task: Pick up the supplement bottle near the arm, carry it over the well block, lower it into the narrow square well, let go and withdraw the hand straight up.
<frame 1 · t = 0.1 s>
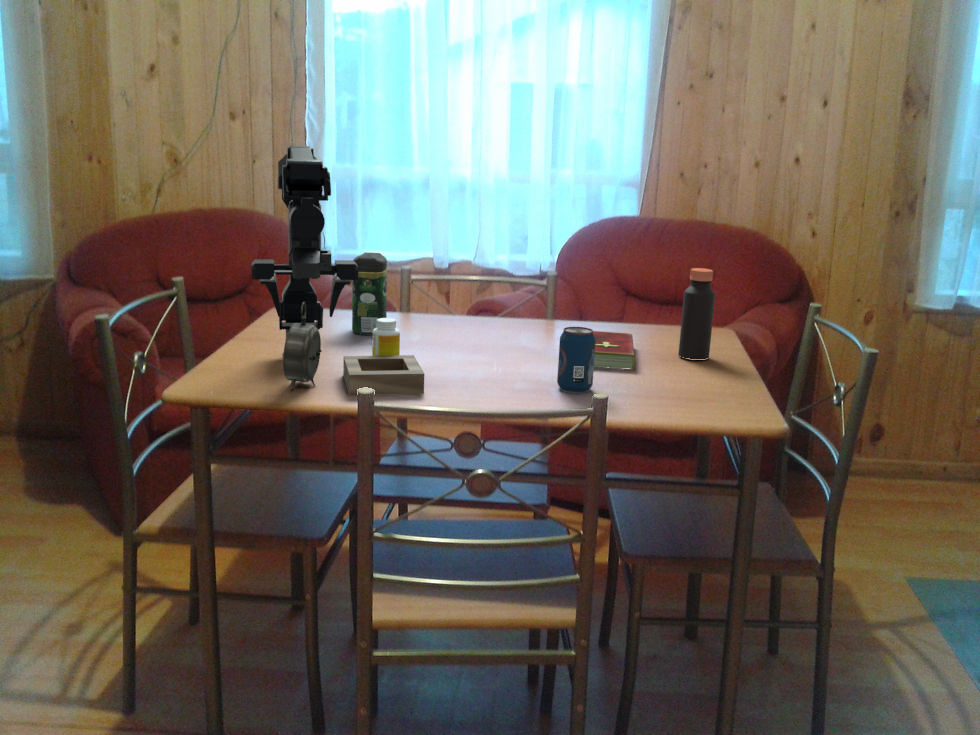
hand: (305, 316, 184), 15 cm above the table, fingers open, 9 cm apart
vinegar: (693, 358, 228), on the table
coffee jar: (368, 332, 240), on the table
alarm clock: (303, 386, 193), on the table
well block: (382, 384, 196), on the table
supplement bottle: (385, 369, 208), on the table
soda can: (574, 390, 199), on the table
hardcover book: (605, 359, 225), on the table
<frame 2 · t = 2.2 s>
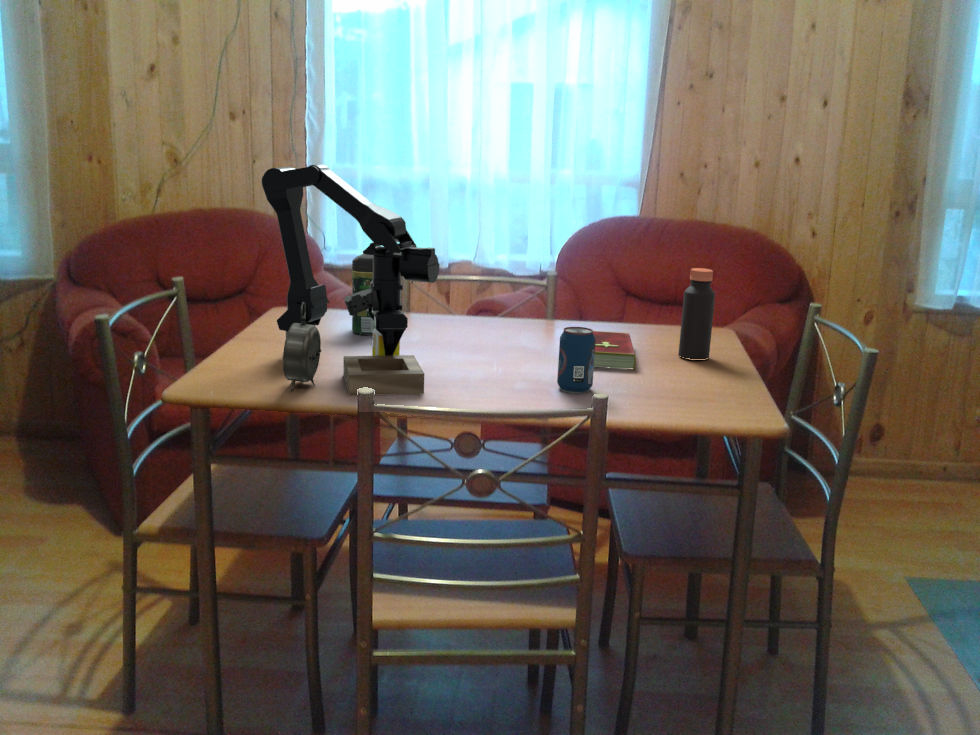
hand: (385, 353, 207), 3 cm above the table, fingers open, 8 cm apart
nothing on the table moved.
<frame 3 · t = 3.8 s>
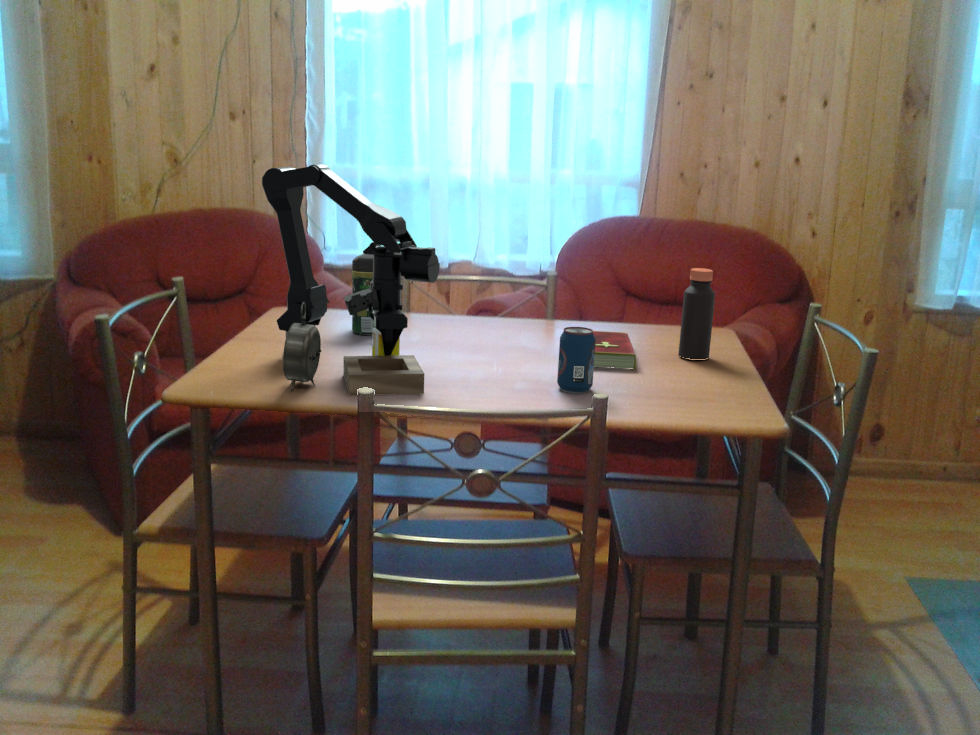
hand: (385, 353, 207), 3 cm above the table, fingers closed on supplement bottle, 5 cm apart
supplement bottle: (385, 368, 208), on the table, touching gripper
everything else where it was.
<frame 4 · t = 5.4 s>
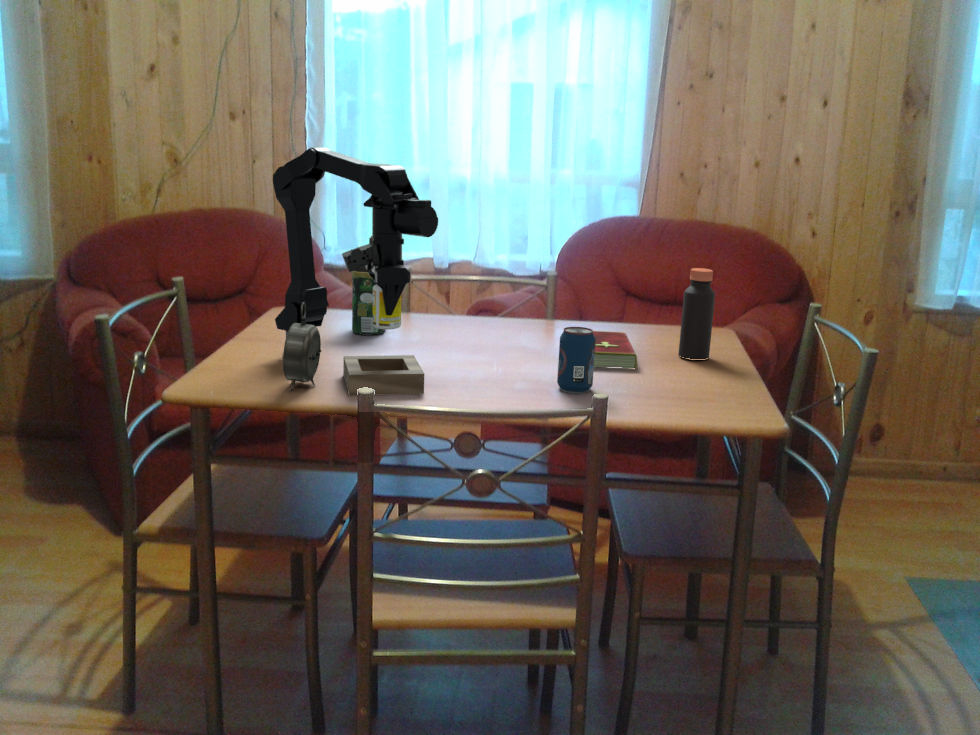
hand: (386, 312, 198), 13 cm above the table, fingers closed on supplement bottle, 5 cm apart
supplement bottle: (386, 328, 198), point 10 cm above the table, touching gripper
everything else where it was.
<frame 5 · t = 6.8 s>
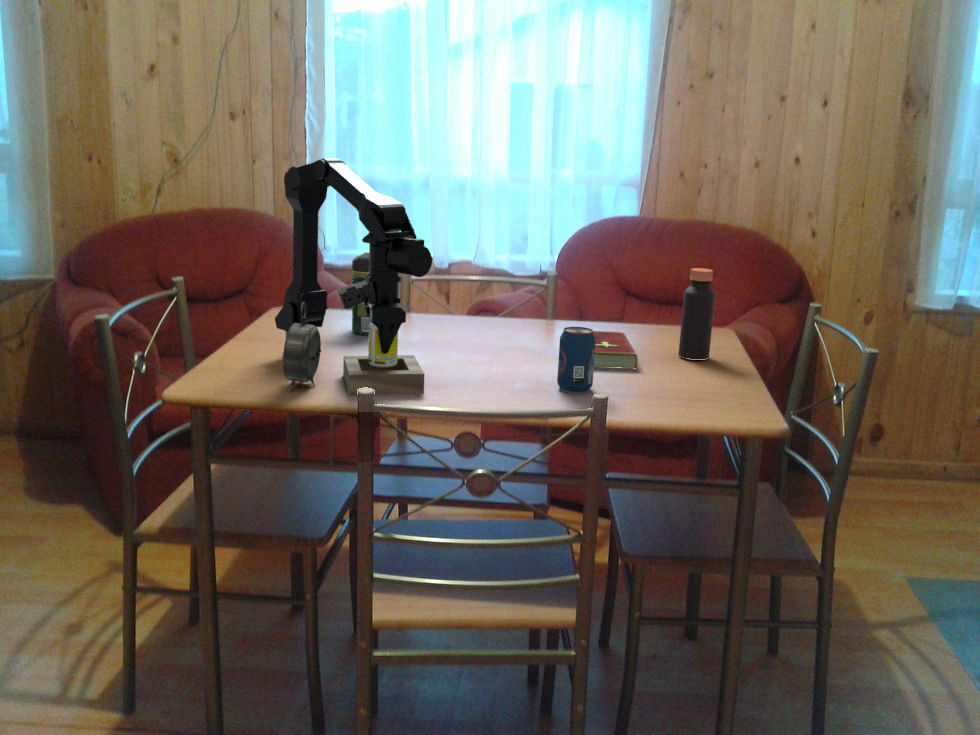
hand: (382, 349, 194), 7 cm above the table, fingers closed on supplement bottle, 5 cm apart
supplement bottle: (382, 365, 195), point 4 cm above the table, touching gripper
everything else where it was.
when the fingers open (5 cm above the table, at t = 7.9 s): supplement bottle drops 2 cm, resting on well block.
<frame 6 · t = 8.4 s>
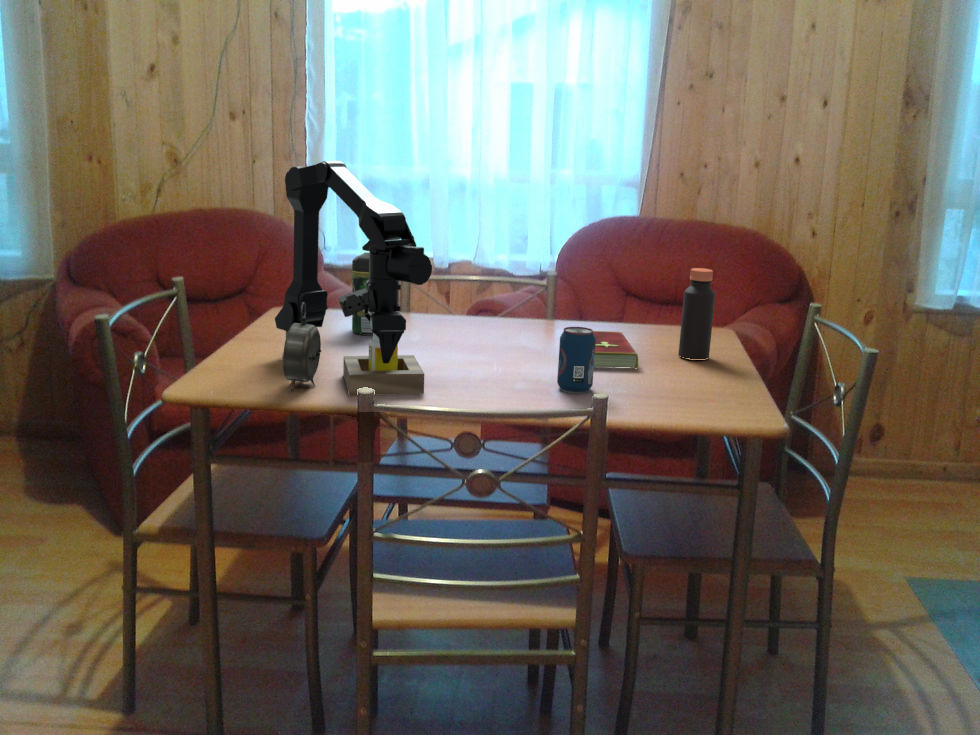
hand: (382, 357, 195), 5 cm above the table, fingers open, 9 cm apart
supplement bottle: (382, 383, 196), resting on well block
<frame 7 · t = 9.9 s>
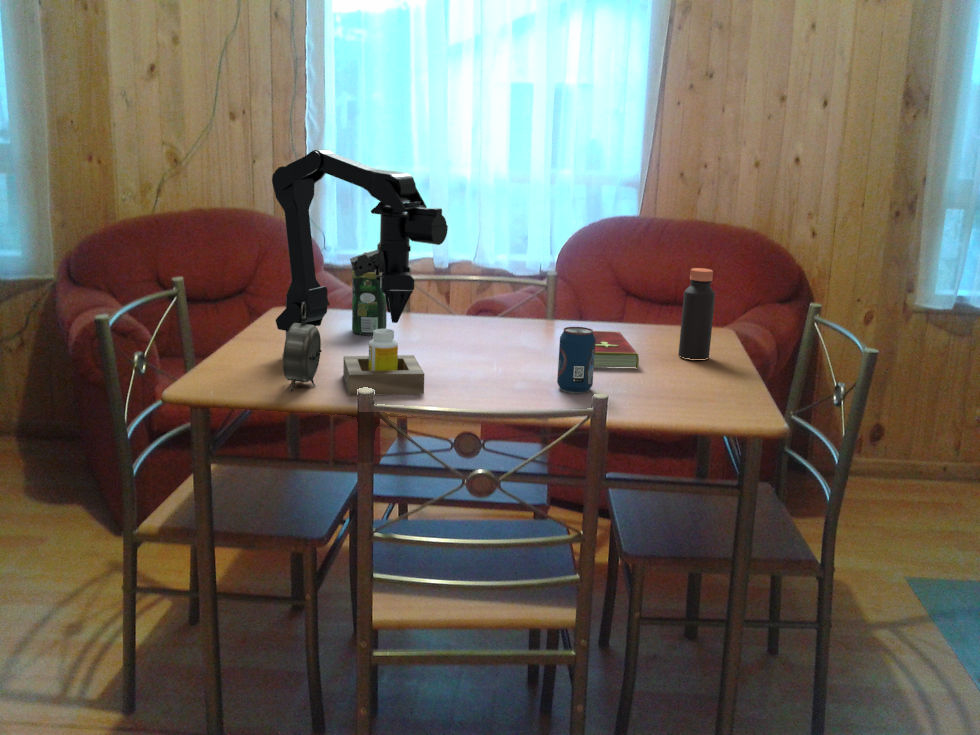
hand: (392, 317, 201), 12 cm above the table, fingers open, 9 cm apart
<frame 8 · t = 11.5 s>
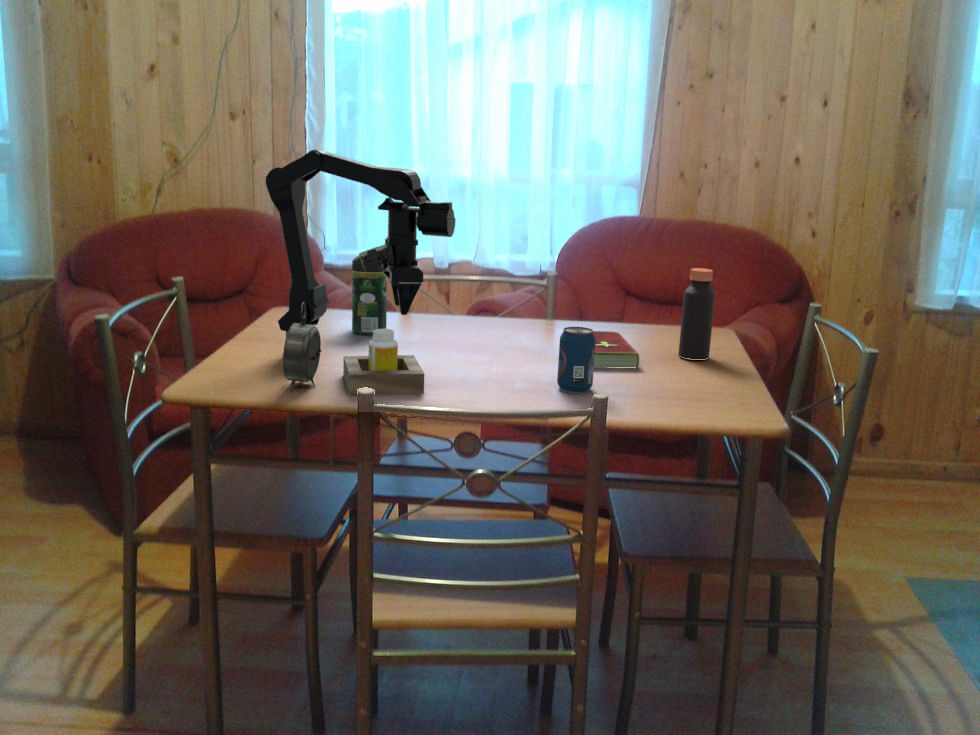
hand: (400, 310, 206), 12 cm above the table, fingers open, 9 cm apart
at the end: supplement bottle 0.2 cm off-centre on the well block, point 0.2 cm above the well block's base; supplement bottle tilted 0°; the gripper is holding nothing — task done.
